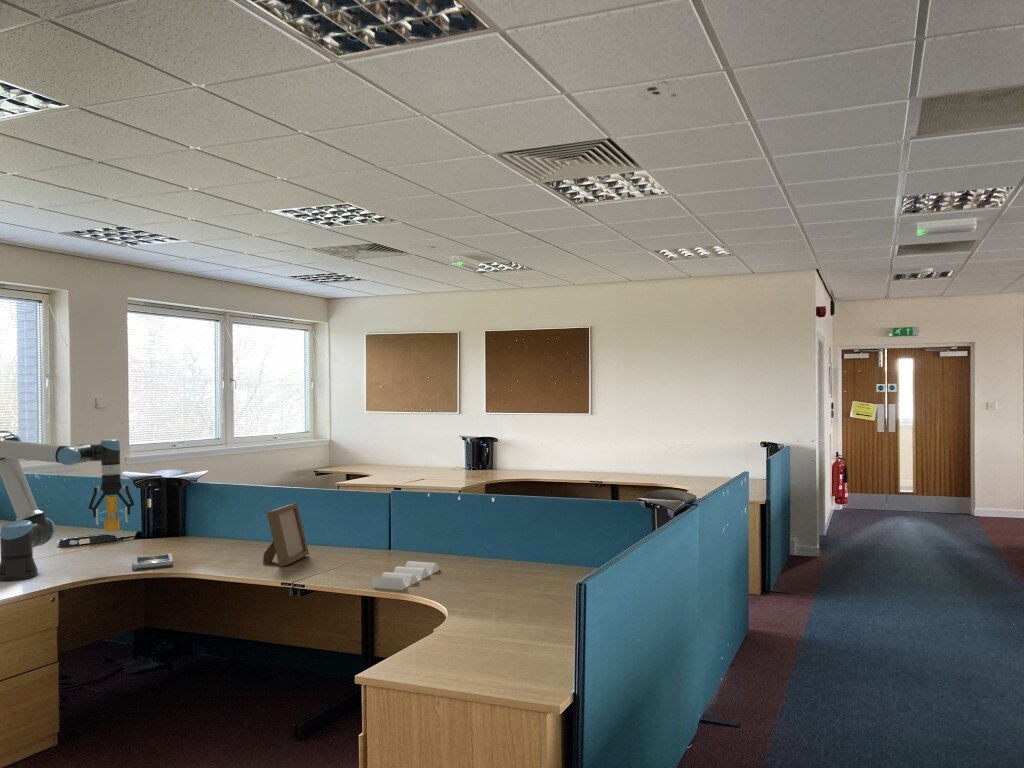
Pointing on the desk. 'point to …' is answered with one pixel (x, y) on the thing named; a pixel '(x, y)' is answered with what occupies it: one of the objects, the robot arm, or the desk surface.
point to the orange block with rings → (111, 515)
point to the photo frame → (286, 536)
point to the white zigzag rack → (405, 575)
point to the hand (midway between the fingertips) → (112, 523)
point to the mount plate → (153, 561)
